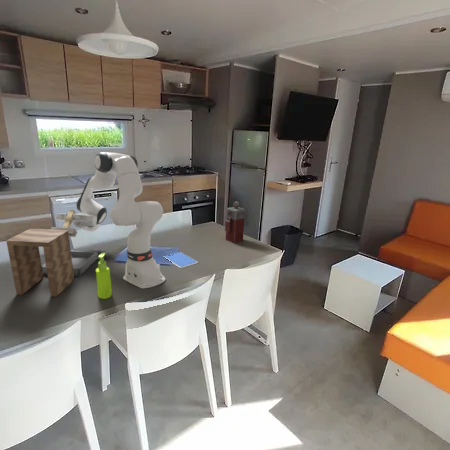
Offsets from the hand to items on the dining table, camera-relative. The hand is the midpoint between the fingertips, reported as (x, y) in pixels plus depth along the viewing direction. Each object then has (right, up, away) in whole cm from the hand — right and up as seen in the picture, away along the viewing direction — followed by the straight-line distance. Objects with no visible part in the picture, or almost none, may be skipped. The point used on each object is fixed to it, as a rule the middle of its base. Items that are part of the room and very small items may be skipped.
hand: (69, 215), depth 160 cm
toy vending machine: (+88, -16, +53) cm, 104 cm away
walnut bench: (-2, -34, -17) cm, 38 cm away
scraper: (0, -5, 0) cm, 5 cm away
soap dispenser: (+28, -37, -21) cm, 51 cm away
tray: (-1, -27, +5) cm, 28 cm away
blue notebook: (+56, -27, +18) cm, 65 cm away
